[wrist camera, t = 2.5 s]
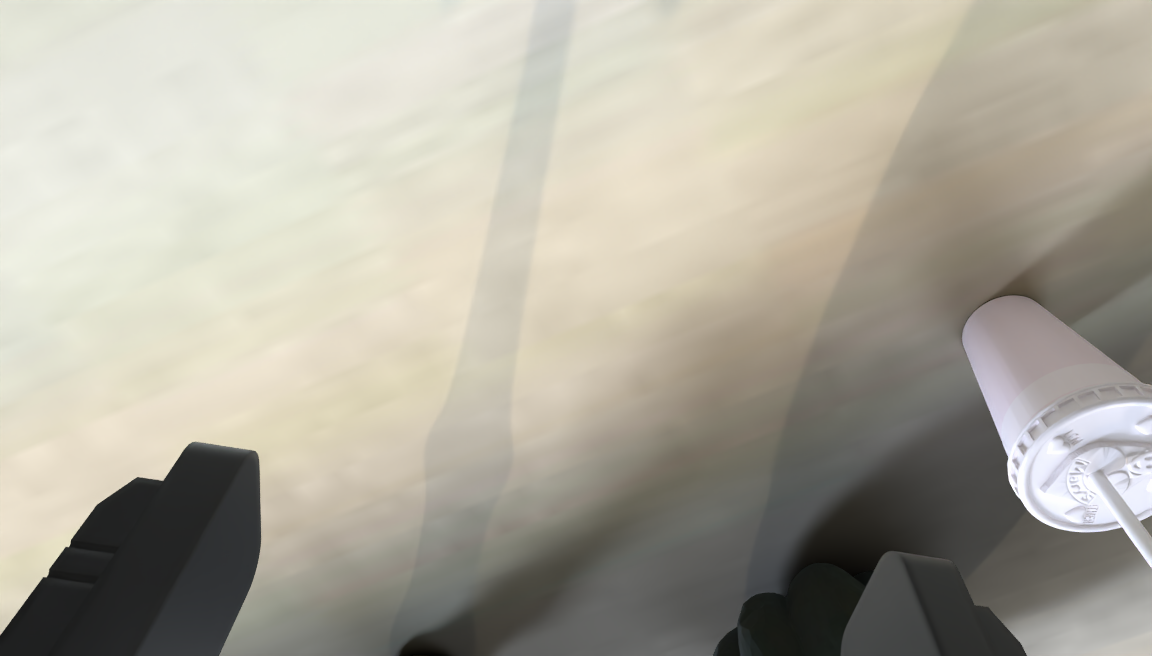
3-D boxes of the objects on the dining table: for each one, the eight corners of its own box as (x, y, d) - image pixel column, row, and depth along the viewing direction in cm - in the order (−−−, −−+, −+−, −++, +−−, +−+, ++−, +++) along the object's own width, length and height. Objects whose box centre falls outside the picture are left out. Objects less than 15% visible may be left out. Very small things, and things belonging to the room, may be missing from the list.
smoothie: (915, 300, 38) (1055, 520, 26) (1064, 245, 37) (1286, 454, 25) (950, 406, 41) (1089, 648, 29) (1089, 359, 40) (1298, 596, 28)
